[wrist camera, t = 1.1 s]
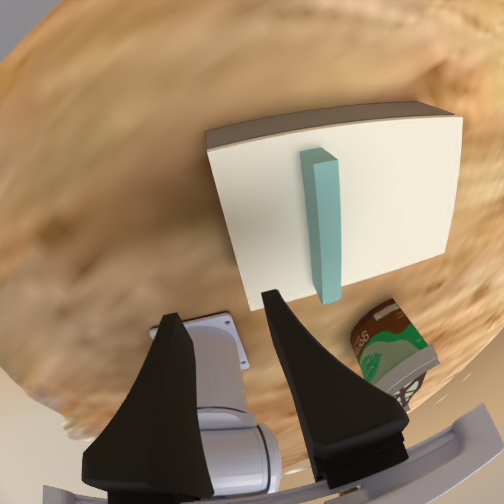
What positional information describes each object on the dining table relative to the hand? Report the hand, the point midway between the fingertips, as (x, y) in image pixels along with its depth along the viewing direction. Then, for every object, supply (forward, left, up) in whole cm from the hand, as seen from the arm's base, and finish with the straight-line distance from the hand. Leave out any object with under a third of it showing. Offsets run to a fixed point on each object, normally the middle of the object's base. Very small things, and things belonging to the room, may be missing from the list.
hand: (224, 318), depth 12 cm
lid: (0, -9, -6) cm, 11 cm away
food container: (-20, -13, -11) cm, 26 cm away
